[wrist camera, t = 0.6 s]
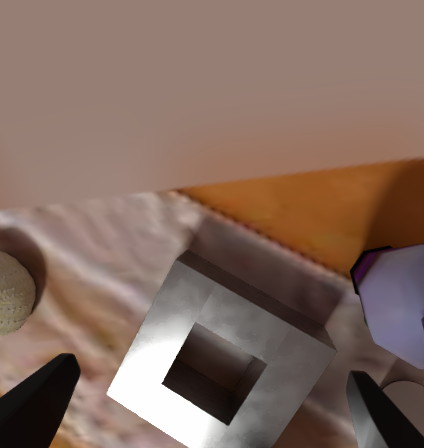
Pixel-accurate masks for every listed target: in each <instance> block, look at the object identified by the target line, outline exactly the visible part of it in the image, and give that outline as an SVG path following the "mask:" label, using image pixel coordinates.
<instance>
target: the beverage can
mask: <svg viewBox="0 0 424 448" xmlns="http://www.w3.org/2000/svg"><path fill="white" fill-rule="evenodd" d="M383 392H384V393H385V394H386V395H387V396H388V397H389V398H390V399H391V400H392V402H393V403H394V404H395V405H396V406H397V407H398V408H399V409H400V411H401V412H402V413H403V414H404V415H405V416H406V417H407V418H408V419H409V421H410V422H411V423H412V424H413V425H414V426H415V427H416V428H417V430H418V431H419V432H420V433H421V434H422V435H423V436H424V387H423V386H422V385H420V384H417V383H414V382H410V381H396V382H393V383H391V384H389V385H388V386H386V387H385V388H384V389H383Z"/></svg>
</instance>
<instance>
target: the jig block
mask: <svg viewBox="0 0 424 448" xmlns="http://www.w3.org/2000/svg"><path fill="white" fill-rule="evenodd" d="M195 322H197V323H199V324H200V325H202V326H204V327H205V328H207V329H209V330H211V331H212V332H214V333H216V334H217V335H219V336H221V337H222V338H224V339H226V340H227V341H229V342H231V343H233V344H234V345H236V346H238V347H239V348H241V349H243V350H244V351H246V352H248V353H249V354H251V355H253V356H255V357H254V359H253V360H252V362H251V364H250V365H249V367H248V369H247V370H246V372H245V373H244V375H243V377H242V378H241V380H240V382H239V383H238V385H237V386H236V388H235V390H234V391H233V393H231V392H229V391H228V390H226V389H225V388H223V387H221V386H220V385H218V384H216V383H215V382H213V381H211V380H210V379H208V378H207V377H205V376H203V375H202V374H200V373H198V372H197V371H195V370H193V369H192V368H190V367H189V366H187V365H185V364H184V363H182V362H180V361H179V360H177V359H175V357H176V355H177V354H178V352H179V350H180V348H181V346H182V345H183V343H184V341H185V339H186V337H187V336H188V334H189V332H190V330H191V328H192V327H193V325H194V323H195ZM336 353H337V350H336V348H335V346H334V344H333V342H332V341H331V339H330V337H329V335H328V333H327V331H326V329H325V327H323V326H322V325H320V324H318V323H316V322H314V321H313V320H311V319H309V318H307V317H306V316H304V315H302V314H300V313H298V312H297V311H295V310H293V309H291V308H290V307H288V306H286V305H284V304H283V303H281V302H279V301H277V300H275V299H274V298H272V297H270V296H268V295H267V294H265V293H263V292H261V291H259V290H258V289H256V288H254V287H252V286H251V285H249V284H247V283H245V282H243V281H242V280H240V279H238V278H236V277H235V276H233V275H231V274H229V273H228V272H226V271H224V270H222V269H220V268H219V267H217V266H215V265H213V264H212V263H210V262H208V261H206V260H204V259H203V258H201V257H199V256H197V255H196V254H194V253H192V252H190V251H188V250H187V251H186V252H184V253H183V254H182V255H180V256H179V257H178V258H177V259H176V260H175V262H174V264H173V266H172V267H171V269H170V271H169V273H168V275H167V277H166V279H165V281H164V283H163V285H162V287H161V289H160V291H159V293H158V295H157V297H156V299H155V300H154V302H153V304H152V306H151V308H150V310H149V312H148V314H147V316H146V318H145V320H144V322H143V324H142V326H141V328H140V330H139V332H138V334H137V335H136V337H135V339H134V341H133V343H132V345H131V347H130V349H129V351H128V353H127V355H126V357H125V359H124V361H123V363H122V365H121V367H120V368H119V370H118V372H117V374H116V376H115V378H114V380H113V382H112V384H111V386H110V388H109V390H108V392H107V395H108V396H110V397H112V398H113V399H115V400H116V401H118V402H119V403H121V404H122V405H124V406H126V407H127V408H129V409H130V410H132V411H133V412H135V413H136V414H138V415H140V416H141V417H143V418H144V419H146V420H147V421H149V422H150V423H152V424H154V425H155V426H157V427H158V428H160V429H161V430H163V431H164V432H166V433H168V434H169V435H171V436H172V437H174V438H175V439H177V440H178V441H180V442H182V443H183V444H185V445H186V446H188V447H189V448H272V447H273V445H274V444H275V442H276V441H277V439H278V438H279V436H280V435H281V433H282V432H283V431H284V429H285V428H286V426H287V425H288V423H289V422H290V420H291V419H292V417H293V416H294V414H295V413H296V411H297V410H298V409H299V407H300V406H301V404H302V403H303V401H304V400H305V398H306V397H307V395H308V394H309V392H310V391H311V389H312V388H313V387H314V385H315V384H316V382H317V381H318V379H319V378H320V376H321V375H322V373H323V372H324V370H325V369H326V367H327V366H328V365H329V363H330V362H331V360H332V359H333V357H334V356H335V354H336Z"/></svg>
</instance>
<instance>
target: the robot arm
mask: <svg viewBox="0 0 424 448" xmlns="http://www.w3.org/2000/svg"><path fill="white" fill-rule="evenodd" d="M80 374H81V369H80V366H79V364H78V362H77V359H76V357H75V355H74V354H72V353H61V354H59V355H58V356H57V357H55V358H54V359H52V360H51V361H50V362H48V363H47V364H46V365H44V366H43V367H41V368H40V369H39V370H37V371H36V372H35V373H33V374H32V375H31V376H29V377H28V378H26V379H25V380H24V381H22V382H21V383H20V384H18V385H17V386H16V387H14V388H13V389H11V390H10V391H9V392H7V393H6V394H5V395H3V396H2V397H0V448H49V446H50V444H51V442H52V440H53V438H54V436H55V434H56V432H57V430H58V428H59V426H60V424H61V421H62V419H63V417H64V414H65V412H66V409H67V407H68V404H69V402H70V400H71V397H72V395H73V392H74V390H75V387H76V385H77V382H78V380H79V377H80ZM346 393H347V399H348V403H349V408H350V412H351V416H352V421H353V425H354V430H355V434H356V438H357V443H358V447H359V448H424V436H423V435H422V434H421V433H420V432H419V431H418V430H417V428H416V427H415V426H414V425H413V424H412V423H411V422H410V421H409V419H408V418H407V417H406V416H405V415H404V414H403V413H402V412H401V411H400V409H399V408H398V407H397V406H396V405H395V404H394V403H393V402H392V400H391V399H390V398H389V397H388V396H387V395H386V394H385V393H384V392H383V390H382V389H381V388H380V387H379V386H378V385H377V384H376V383H375V381H374V380H373V379H372V378H371V377H370V376H369V375H368V374H367V373H366V372H364V371H354V370H351V371H350V372H349V376H348V382H347V387H346Z"/></svg>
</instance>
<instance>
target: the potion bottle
mask: <svg viewBox="0 0 424 448" xmlns="http://www.w3.org/2000/svg"><path fill="white" fill-rule="evenodd" d="M350 274H351V278H352V282H353V286H354V290H355V294H357V295H359V297H360V301H361V305H362V308H363V312H364V321H365V323H366V325H367V327H368V328H369V330H370V333H371V335H372V338H373V340H374V343H376V344H377V345H379V346H381V347H382V348H384V349H386V350H387V351H389V352H391V353H392V354H394V355H396V356H398V357H399V358H401V359H403V360H404V361H406V362H408V363H409V364H411V365H413V366H415V367H416V368H418V369H420V370H422V369H424V244H416V245H411V246H407V247H402V248H393V247H391V246H385V247H380V248H376V249H371V250H367V251H363V253H362V254H361V256H360V257H359V259H358V260H357V261H356V263H355V264H354V266H353V267H352V269H351V270H350Z"/></svg>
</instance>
